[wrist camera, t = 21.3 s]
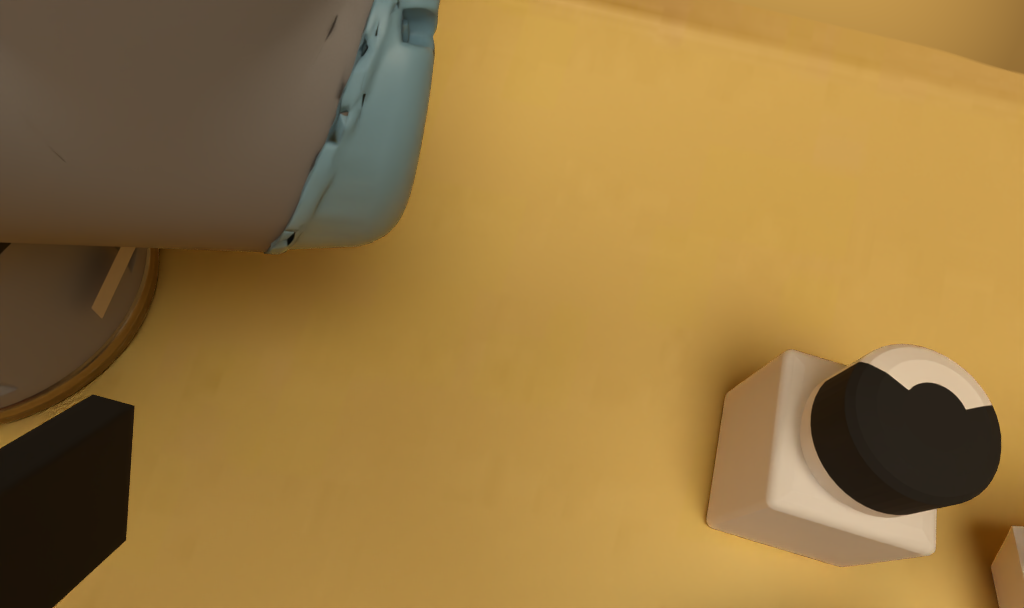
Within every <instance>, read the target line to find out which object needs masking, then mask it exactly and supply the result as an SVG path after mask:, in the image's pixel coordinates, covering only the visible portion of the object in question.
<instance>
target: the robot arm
mask: <svg viewBox="0 0 1024 608" xmlns="http://www.w3.org/2000/svg"><path fill="white" fill-rule="evenodd" d="M439 3H440V0H0V424H5V423H8V422H12V421H15V420H18V419H21V418H25V417H27V416H30V415H32V414H35V413H37V412H40V411H42V410H44V409H47V408H49V407H51V406H53V405H55V404H57V403H59V402H61V401H62V400H64V399H66V398H67V397H69V396H71V395H72V394H74V393H76V392H77V391H79V390H80V389H81V388H83V387H84V386H86V385H87V384H88V383H90V382H91V381H92V380H93V379H95V378H96V377H97V376H98V375H100V374H101V373H102V372H103V371H104V370H105V369H106V368H107V367H108V366H109V365H110V364H111V363H112V362H113V361H114V360H115V359H116V358H117V357H118V356H119V355H120V354H121V352H122V351H123V350H124V349H125V348H126V347H127V345H128V344H129V342H130V341H131V340H132V338H133V337H134V335H135V334H136V332H137V331H138V329H139V327H140V326H141V324H142V322H143V320H144V318H145V316H146V314H147V312H148V310H149V307H150V305H151V302H152V299H153V296H154V293H155V289H156V284H157V280H158V271H159V249H158V248H167V249H194V250H222V251H249V252H264V254H281V253H284V252H286V251H287V250H288V249H309V248H334V247H357V246H362V245H366V244H369V243H372V242H373V241H375V240H377V239H379V238H381V237H383V236H385V235H386V234H387V233H388V232H390V231H391V230H392V229H393V228H394V226H395V225H396V224H397V223H398V221H399V219H400V218H401V216H402V214H403V212H404V210H405V208H406V205H407V203H408V200H409V197H410V193H411V190H412V186H413V182H414V178H415V174H416V169H417V165H418V160H419V154H420V149H421V144H422V139H423V133H424V127H425V121H426V115H427V109H428V102H429V96H430V89H431V81H432V73H433V64H434V56H435V53H434V40H433V35H434V33H435V31H436V29H437V21H438V8H439ZM133 422H134V406H133V405H129V404H126V403H122V402H118V401H115V400H111V399H107V398H104V397H100V396H97V395H91V396H89V397H88V398H86V399H84V400H83V401H81V402H79V403H77V404H76V405H74V406H72V407H71V408H69V409H67V410H65V411H64V412H62V413H60V414H59V415H57V416H55V417H54V418H52V419H50V420H48V421H47V422H45V423H43V424H42V425H40V426H38V427H36V428H35V429H33V430H31V431H30V432H28V433H26V434H24V435H23V436H21V437H19V438H18V439H16V440H14V441H13V442H11V443H9V444H7V445H6V446H4V447H2V448H1V449H0V608H53V607H54V606H55V605H56V604H57V603H58V602H59V601H60V600H61V599H63V598H64V597H65V596H66V595H67V594H68V593H69V592H70V591H71V590H72V589H73V588H75V587H76V586H77V585H78V584H79V583H80V582H81V581H82V580H83V579H84V578H85V577H86V576H88V575H89V574H90V573H91V572H92V571H93V570H94V569H95V568H96V567H97V566H98V565H100V564H101V563H102V562H103V561H104V560H105V559H106V558H107V557H108V556H109V555H110V554H112V553H113V552H114V551H115V550H116V549H117V548H118V547H119V546H120V545H121V544H122V543H123V542H125V541H126V532H127V516H128V501H129V485H130V469H131V453H132V438H133Z"/></svg>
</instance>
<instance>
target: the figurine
mask: <svg viewBox="0 0 1024 608" xmlns="http://www.w3.org/2000/svg"><path fill="white" fill-rule="evenodd" d="M991 570H992V575H993V580H994V585H995V589H996V594H997V599H998V604H999V608H1024V526H1012V527H1011V529H1010V531H1009V533H1008V535H1007V536H1006V538H1005V540H1004V542H1003V544H1002V546H1001V548H1000V550H999V552H998V554H997V556H996V558H995V560H994V561H993V563H992V565H991Z"/></svg>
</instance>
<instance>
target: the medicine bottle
mask: <svg viewBox="0 0 1024 608" xmlns="http://www.w3.org/2000/svg"><path fill="white" fill-rule="evenodd" d="M1000 454H1001V434H1000V427H999V423H998V419H997V416H996V413H995V411H994V408H993V406H992V404H991V402H990V400H989V398H988V397H987V395H986V393H985V392H984V391H983V389H982V388H981V386H980V385H979V384H978V383H977V382H976V380H975V379H974V378H973V377H972V376H971V375H970V374H969V373H968V372H967V371H966V370H965V369H963V368H962V367H961V366H959V365H958V364H957V363H955V362H954V361H952V360H950V359H949V358H947V357H945V356H944V355H942V354H940V353H938V352H935V351H933V350H931V349H928V348H925V347H921V346H916V345H910V344H894V345H888V346H884V347H881V348H879V349H876V350H874V351H872V352H870V353H869V354H867V355H865V356H864V357H862V358H860V359H858V360H857V361H855V362H853V363H852V364H850V365H848V366H846V365H843V364H839V363H836V362H833V361H829V360H826V359H823V358H820V357H816V356H813V355H810V354H806V353H803V352H800V351H797V350H792V349H789V350H786V351H784V352H783V353H782V354H780V355H779V356H777V357H776V358H775V359H773V360H772V361H771V362H769V363H768V364H766V365H765V366H764V367H762V368H761V369H760V370H758V371H757V372H755V373H754V374H753V375H751V376H750V377H748V378H747V379H746V380H744V381H743V382H742V383H740V384H739V385H737V386H736V387H735V388H733V389H732V390H731V391H729V392H728V393H727V394H726V396H725V400H724V407H723V413H722V420H721V426H720V433H719V440H718V446H717V453H716V460H715V466H714V473H713V479H712V486H711V493H710V499H709V506H708V512H707V519H706V520H707V524H708V526H709V527H711V528H713V529H716V530H719V531H723V532H726V533H729V534H733V535H736V536H739V537H742V538H746V539H749V540H752V541H756V542H759V543H762V544H766V545H769V546H772V547H776V548H779V549H782V550H786V551H789V552H792V553H796V554H799V555H802V556H806V557H809V558H812V559H815V560H819V561H822V562H825V563H829V564H832V565H835V566H839V567H847V566H855V565H862V564H870V563H877V562H885V561H892V560H900V559H907V558H915V557H922V556H930V555H931V554H932V553H934V552H935V549H936V517H937V508H942V507H947V506H951V505H956V504H960V503H963V502H966V501H968V500H971V499H973V498H974V497H976V496H977V495H979V494H980V493H981V492H982V491H983V490H985V489H986V488H987V486H988V485H989V484H990V482H991V481H992V479H993V477H994V475H995V473H996V471H997V468H998V465H999V461H1000Z"/></svg>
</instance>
